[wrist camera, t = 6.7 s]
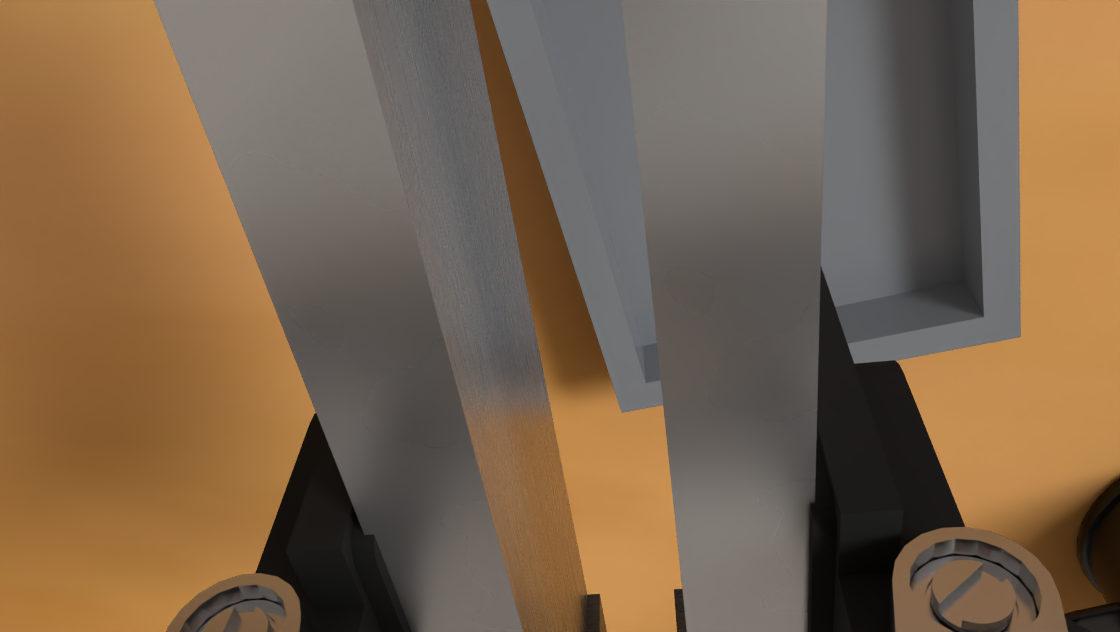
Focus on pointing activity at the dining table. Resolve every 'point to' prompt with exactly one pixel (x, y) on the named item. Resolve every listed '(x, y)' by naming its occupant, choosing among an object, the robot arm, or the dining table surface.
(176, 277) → the dining table surface
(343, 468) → the tongs
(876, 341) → the tong tray
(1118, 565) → the french press
